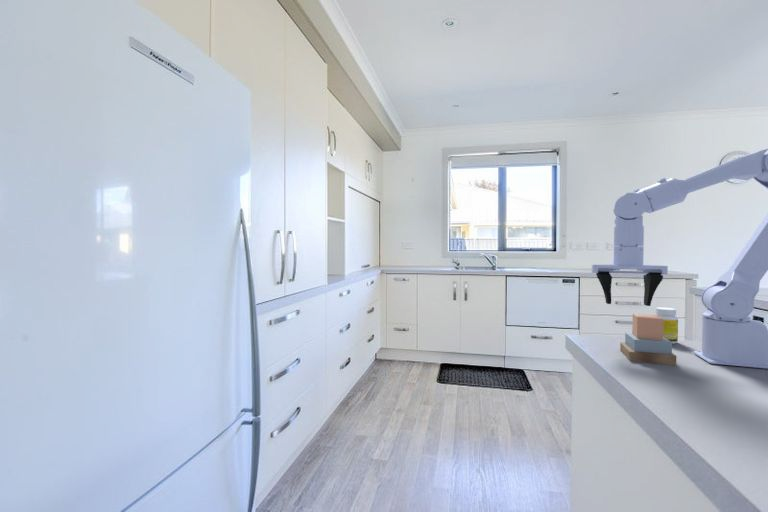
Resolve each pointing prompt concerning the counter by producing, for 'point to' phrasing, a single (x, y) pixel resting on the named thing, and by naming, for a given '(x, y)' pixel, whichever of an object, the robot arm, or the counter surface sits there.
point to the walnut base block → (647, 356)
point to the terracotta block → (647, 326)
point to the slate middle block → (648, 344)
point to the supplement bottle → (669, 323)
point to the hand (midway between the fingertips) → (627, 304)
